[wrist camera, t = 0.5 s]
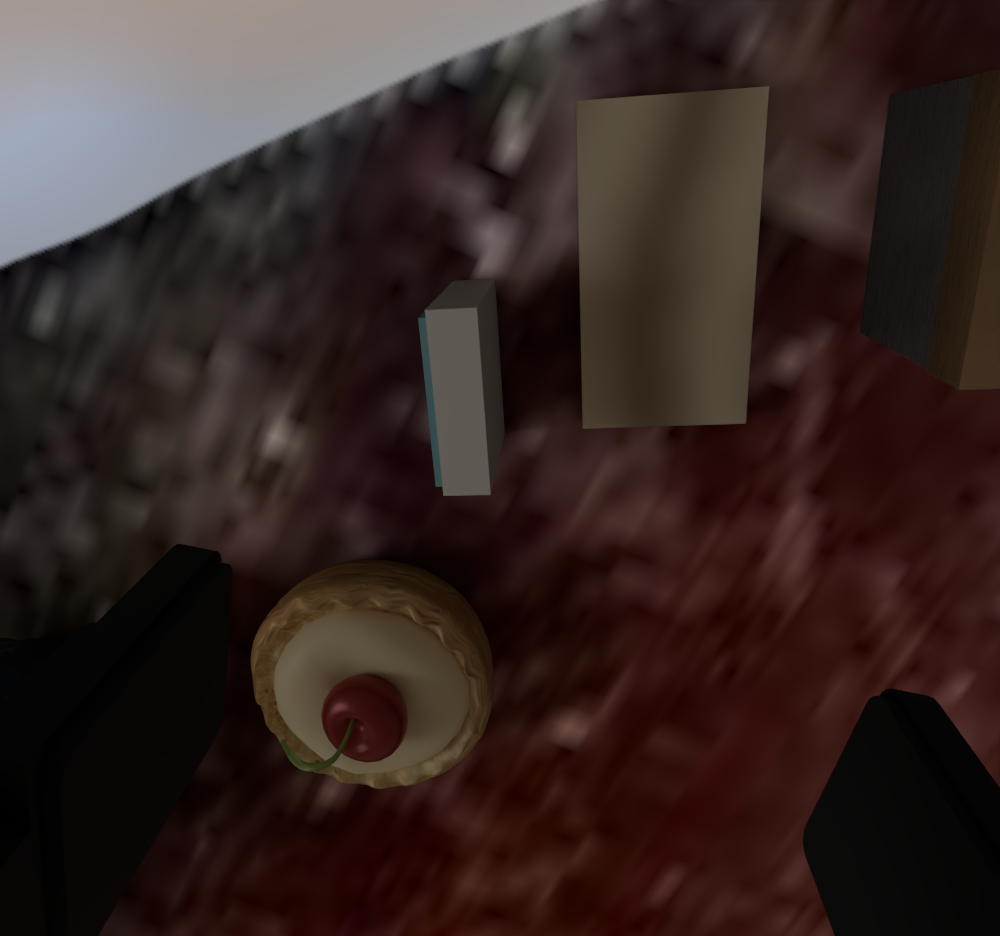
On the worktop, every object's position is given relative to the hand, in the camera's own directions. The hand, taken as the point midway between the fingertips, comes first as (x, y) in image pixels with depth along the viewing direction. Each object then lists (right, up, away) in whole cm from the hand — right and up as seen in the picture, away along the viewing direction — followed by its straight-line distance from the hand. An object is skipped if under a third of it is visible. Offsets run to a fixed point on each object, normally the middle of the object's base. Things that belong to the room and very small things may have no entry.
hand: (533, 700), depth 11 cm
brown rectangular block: (+16, +13, +18) cm, 28 cm away
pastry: (-6, -6, +29) cm, 30 cm away
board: (+6, +12, +20) cm, 24 cm away
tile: (-1, +8, +22) cm, 24 cm away
